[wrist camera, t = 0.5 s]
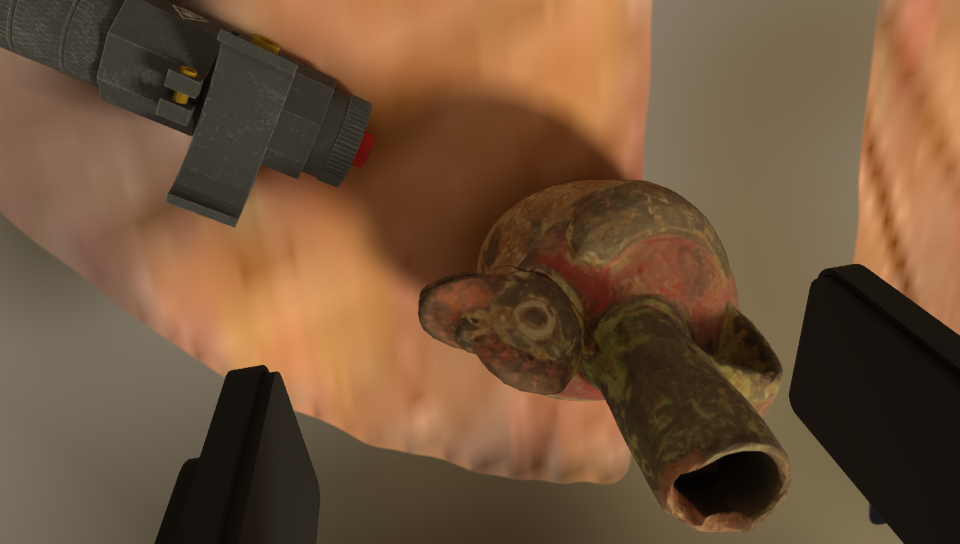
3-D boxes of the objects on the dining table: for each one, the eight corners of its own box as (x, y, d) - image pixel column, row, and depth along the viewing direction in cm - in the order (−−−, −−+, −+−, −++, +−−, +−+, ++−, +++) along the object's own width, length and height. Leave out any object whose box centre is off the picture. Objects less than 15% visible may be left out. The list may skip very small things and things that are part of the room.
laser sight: (13, -118, 34) (-111, -127, 25) (397, 72, 41) (403, 114, 33) (-16, 51, 37) (-132, 94, 29) (341, 196, 45) (333, 263, 37)
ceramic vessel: (439, 91, 42) (506, 280, 21) (751, 187, 49) (1038, 400, 28) (376, 299, 50) (377, 596, 28) (655, 356, 57) (824, 626, 36)
